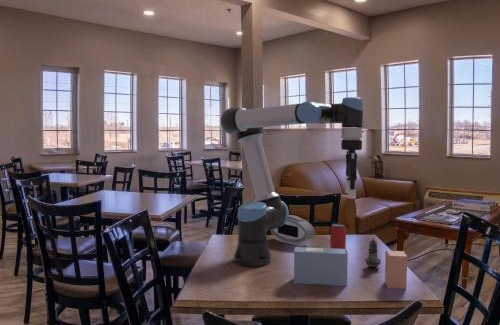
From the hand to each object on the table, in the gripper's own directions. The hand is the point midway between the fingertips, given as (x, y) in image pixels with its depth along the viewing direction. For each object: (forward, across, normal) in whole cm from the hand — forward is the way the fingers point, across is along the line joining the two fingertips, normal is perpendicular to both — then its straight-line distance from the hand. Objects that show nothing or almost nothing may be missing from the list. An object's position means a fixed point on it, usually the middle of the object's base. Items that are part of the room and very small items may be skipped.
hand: (350, 195), depth 159 cm
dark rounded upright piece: (+28, +1, -9) cm, 30 cm away
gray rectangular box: (+28, -16, +11) cm, 34 cm away
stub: (+28, -16, -14) cm, 35 cm away
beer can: (+29, +22, +3) cm, 36 cm away
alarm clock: (+29, +35, +24) cm, 51 cm away
